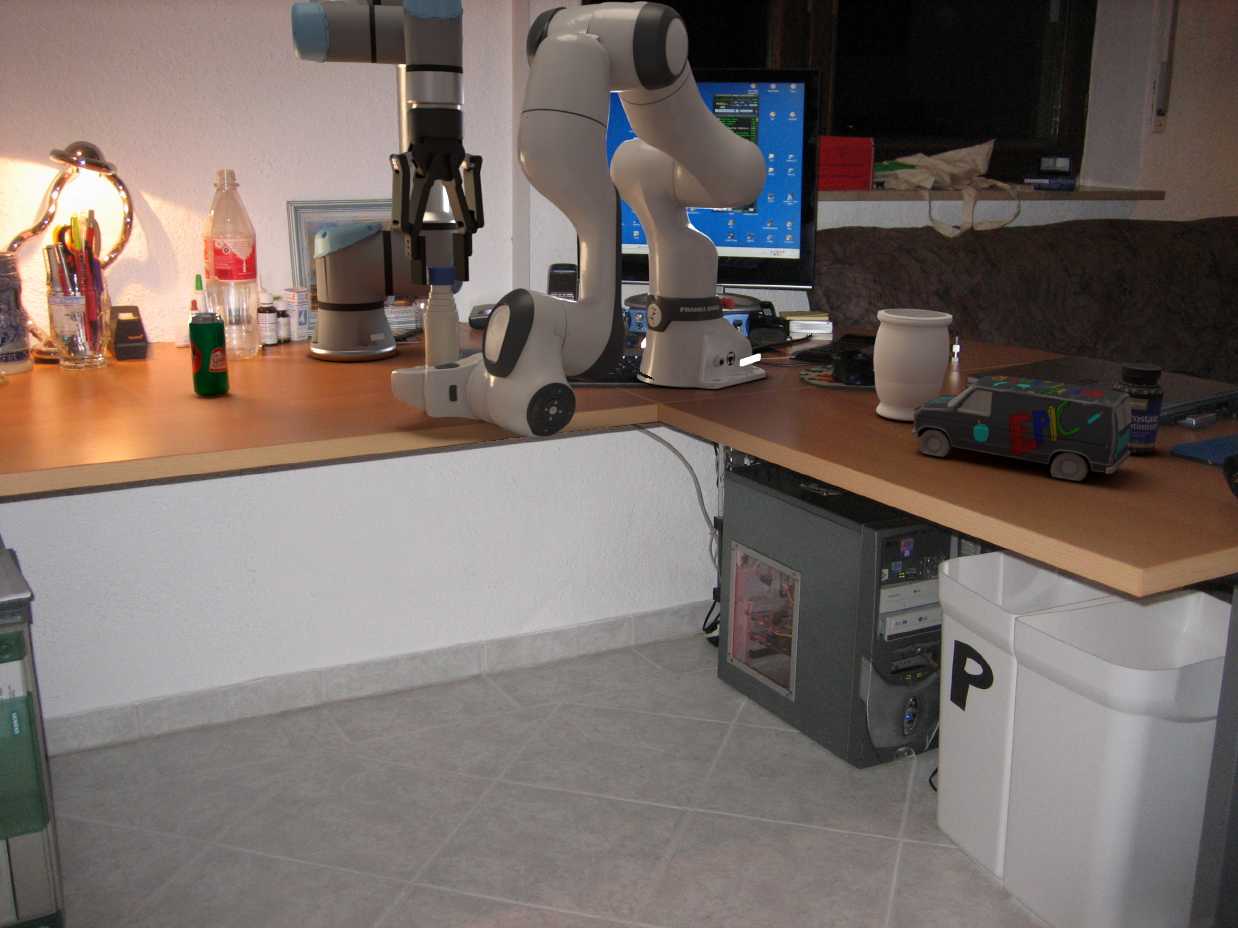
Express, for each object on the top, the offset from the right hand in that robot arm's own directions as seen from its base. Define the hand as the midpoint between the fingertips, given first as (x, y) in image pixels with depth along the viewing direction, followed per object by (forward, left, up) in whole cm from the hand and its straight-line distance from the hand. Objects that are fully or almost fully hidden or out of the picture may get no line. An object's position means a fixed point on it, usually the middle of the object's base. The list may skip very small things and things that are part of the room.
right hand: (439, 369), depth 153 cm
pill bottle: (-66, +67, -6) cm, 94 cm away
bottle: (0, +1, -6) cm, 6 cm away
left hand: (0, +1, +13) cm, 13 cm away
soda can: (+24, -27, -6) cm, 37 cm away
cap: (0, +1, +14) cm, 14 cm away
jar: (-56, +39, -6) cm, 68 cm away
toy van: (-49, +62, -6) cm, 79 cm away
